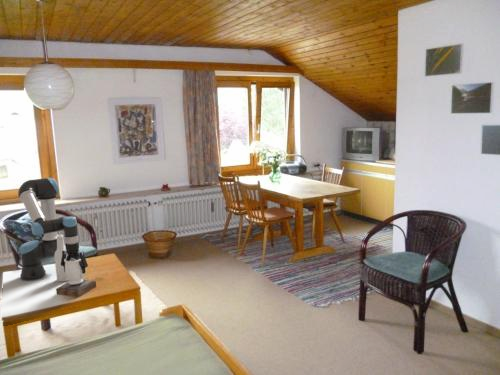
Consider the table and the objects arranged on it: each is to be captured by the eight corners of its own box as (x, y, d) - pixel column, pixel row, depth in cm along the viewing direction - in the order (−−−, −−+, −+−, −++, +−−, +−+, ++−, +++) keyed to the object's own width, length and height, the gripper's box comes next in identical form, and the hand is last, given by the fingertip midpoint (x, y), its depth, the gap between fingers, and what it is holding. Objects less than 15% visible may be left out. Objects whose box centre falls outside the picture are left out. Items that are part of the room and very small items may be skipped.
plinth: (56, 294, 258) (56, 288, 257) (74, 284, 273) (74, 278, 272) (79, 297, 253) (78, 290, 253) (96, 286, 268) (95, 280, 268)
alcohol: (54, 280, 279) (49, 236, 274) (65, 276, 287) (60, 232, 282) (63, 283, 275) (58, 237, 270) (74, 278, 283) (70, 234, 278)
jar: (88, 279, 265) (86, 256, 263) (77, 286, 256) (74, 262, 253) (74, 278, 269) (72, 255, 266) (62, 284, 259) (60, 260, 257)
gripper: (51, 243, 258) (55, 278, 262) (84, 245, 251) (87, 281, 255) (60, 239, 265) (64, 273, 269) (92, 241, 258) (95, 276, 262)
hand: (75, 277), depth 262 cm, fingers closed on jar, 10 cm apart
